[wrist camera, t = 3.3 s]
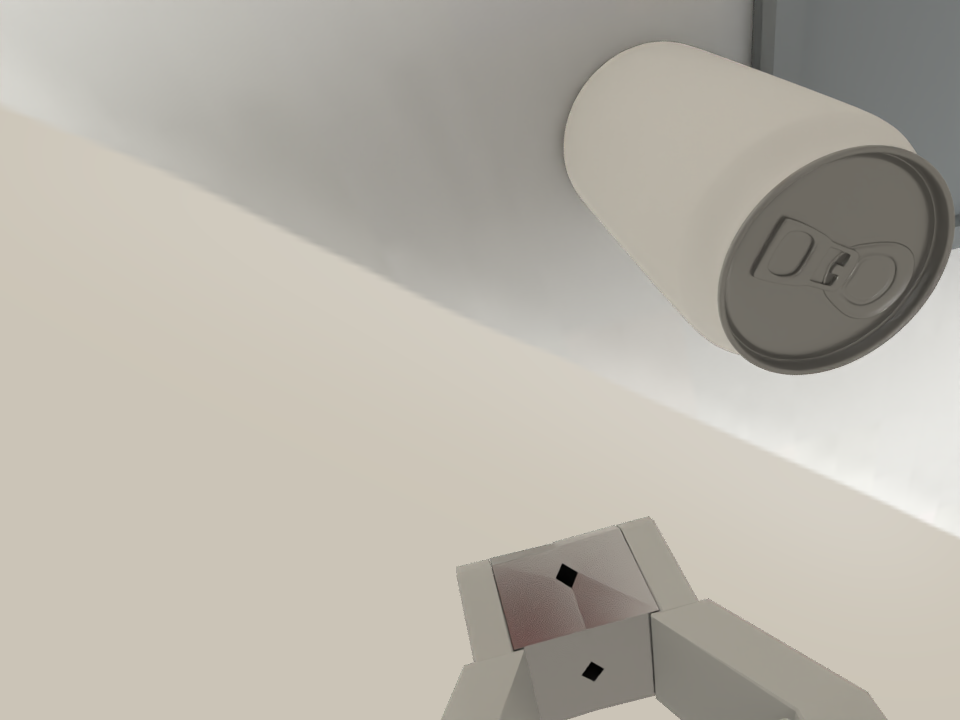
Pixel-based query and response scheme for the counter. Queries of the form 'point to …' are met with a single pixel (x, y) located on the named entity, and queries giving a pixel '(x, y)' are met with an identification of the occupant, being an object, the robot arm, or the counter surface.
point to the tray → (875, 65)
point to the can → (759, 204)
